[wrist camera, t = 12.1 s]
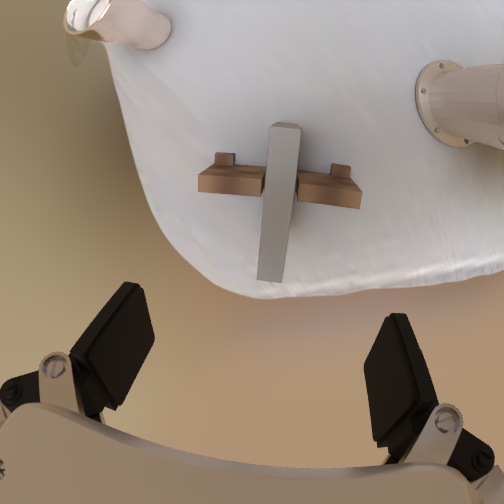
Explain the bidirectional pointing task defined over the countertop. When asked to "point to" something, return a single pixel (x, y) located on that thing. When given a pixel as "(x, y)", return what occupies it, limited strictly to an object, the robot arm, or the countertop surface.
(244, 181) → the walnut slotted plate
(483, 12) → the countertop surface
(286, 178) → the gray square panel
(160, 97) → the countertop surface
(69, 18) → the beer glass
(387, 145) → the countertop surface
